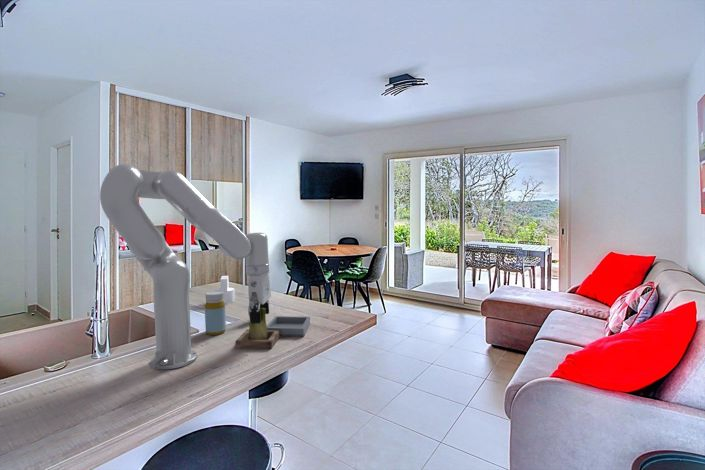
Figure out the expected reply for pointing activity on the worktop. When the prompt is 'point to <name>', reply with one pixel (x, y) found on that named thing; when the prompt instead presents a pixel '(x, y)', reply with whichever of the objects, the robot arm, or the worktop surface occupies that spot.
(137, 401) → the worktop surface
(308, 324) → the tray
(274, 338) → the holder
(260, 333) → the fennel bulb
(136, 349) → the worktop surface
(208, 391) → the worktop surface
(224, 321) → the bottle
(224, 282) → the cylinder with rectangular tab
